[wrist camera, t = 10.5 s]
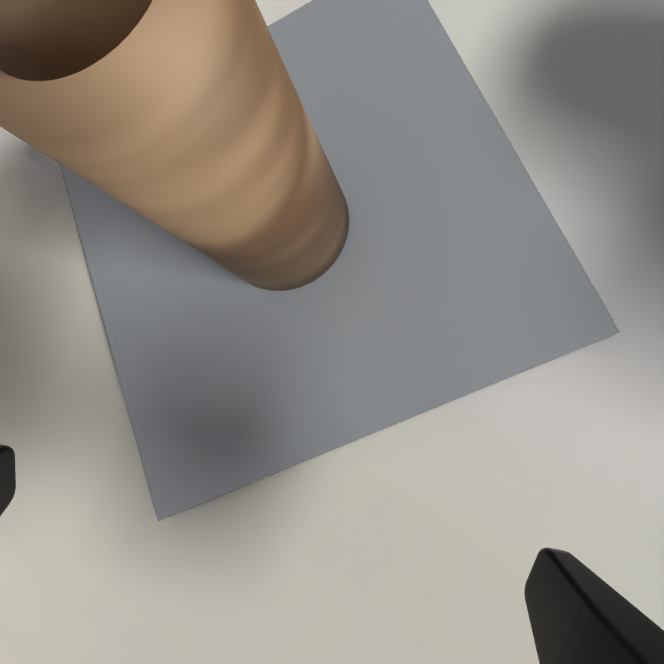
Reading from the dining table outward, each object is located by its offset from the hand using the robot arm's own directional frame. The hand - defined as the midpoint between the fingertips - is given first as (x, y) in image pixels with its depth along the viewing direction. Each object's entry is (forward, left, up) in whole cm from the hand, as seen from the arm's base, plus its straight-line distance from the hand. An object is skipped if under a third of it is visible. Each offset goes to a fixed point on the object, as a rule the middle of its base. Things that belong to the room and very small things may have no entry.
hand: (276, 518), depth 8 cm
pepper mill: (+10, 0, -9) cm, 13 cm away
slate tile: (+10, -1, -9) cm, 13 cm away
